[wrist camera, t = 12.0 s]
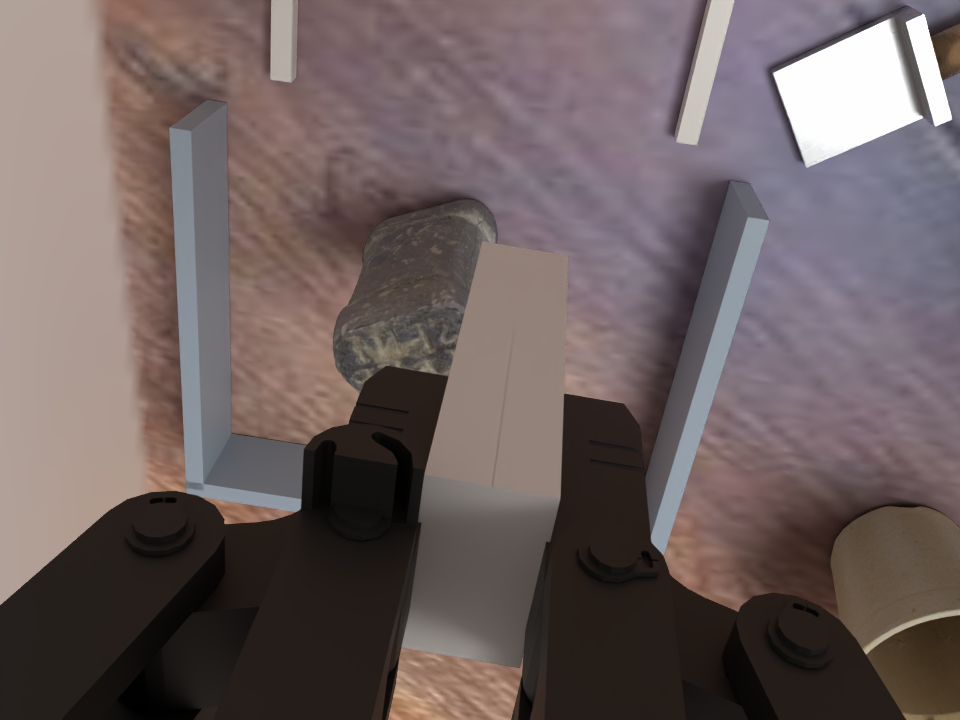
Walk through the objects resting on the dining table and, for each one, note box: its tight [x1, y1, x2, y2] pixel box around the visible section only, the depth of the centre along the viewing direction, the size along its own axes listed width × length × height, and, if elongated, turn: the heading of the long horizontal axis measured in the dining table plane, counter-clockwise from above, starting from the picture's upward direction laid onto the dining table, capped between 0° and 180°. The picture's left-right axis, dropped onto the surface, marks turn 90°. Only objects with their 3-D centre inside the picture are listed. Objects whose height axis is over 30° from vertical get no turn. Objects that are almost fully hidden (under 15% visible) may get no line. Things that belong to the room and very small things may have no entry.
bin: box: [169, 100, 770, 555], centre depth 38 cm, size 17×22×4 cm
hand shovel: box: [770, 6, 960, 168], centre depth 32 cm, size 11×4×2 cm, turn 117°
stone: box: [333, 199, 498, 393], centre depth 34 cm, size 3×6×10 cm, turn 105°
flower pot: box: [831, 506, 960, 720], centre depth 41 cm, size 9×9×9 cm
